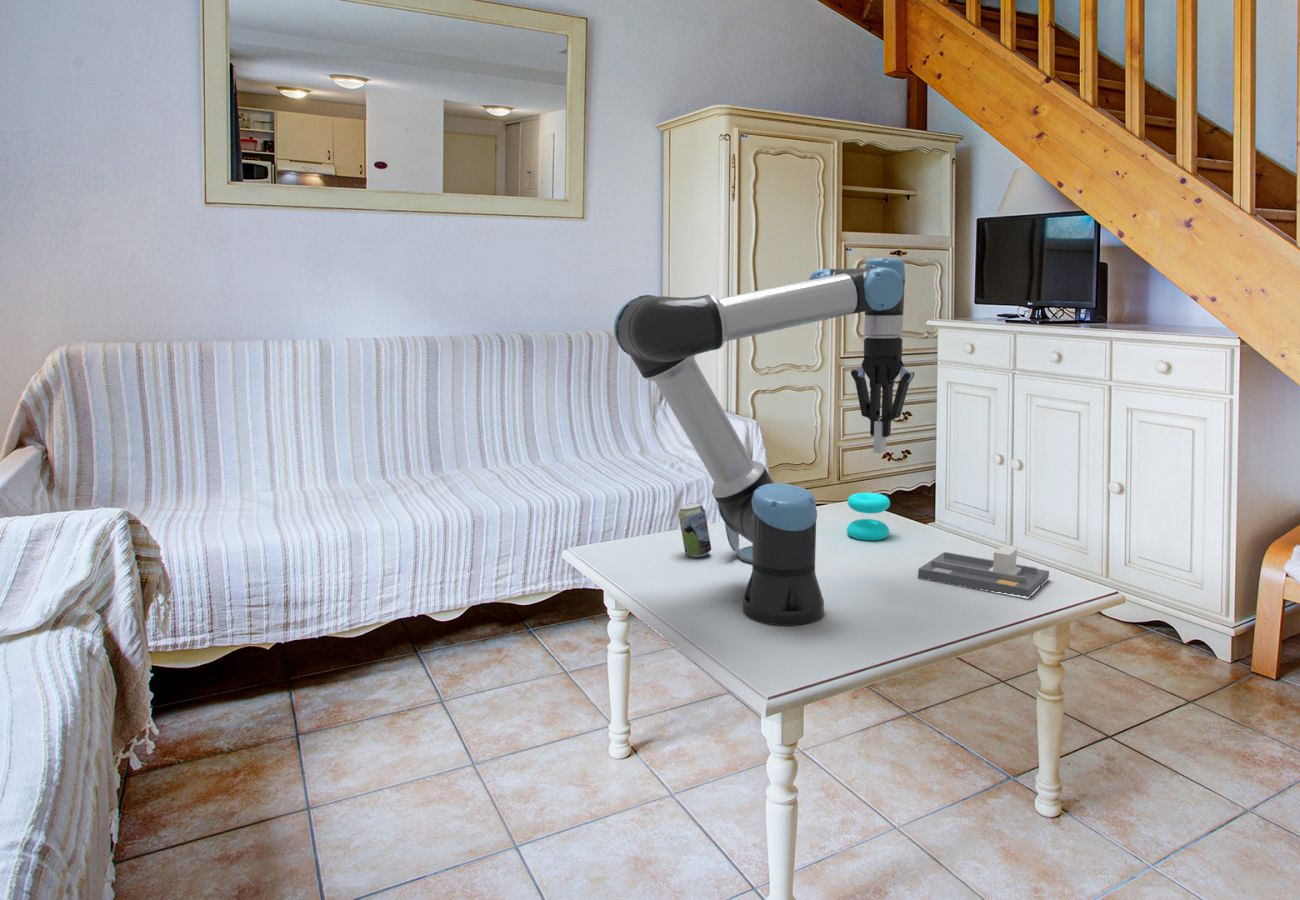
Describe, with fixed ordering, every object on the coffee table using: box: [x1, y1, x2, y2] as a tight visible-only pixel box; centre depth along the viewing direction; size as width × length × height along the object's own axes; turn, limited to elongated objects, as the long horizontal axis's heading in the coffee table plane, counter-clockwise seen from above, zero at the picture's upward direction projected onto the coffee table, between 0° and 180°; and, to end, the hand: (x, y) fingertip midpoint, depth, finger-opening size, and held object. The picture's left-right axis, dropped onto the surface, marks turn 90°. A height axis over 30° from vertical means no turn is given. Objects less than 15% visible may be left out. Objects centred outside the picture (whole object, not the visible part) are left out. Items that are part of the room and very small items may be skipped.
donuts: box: [846, 492, 891, 542], centre depth 217 cm, size 10×10×10 cm
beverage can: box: [678, 502, 712, 558], centre depth 204 cm, size 6×7×12 cm
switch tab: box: [989, 546, 1022, 575], centre depth 182 cm, size 6×5×5 cm
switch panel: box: [917, 551, 1050, 597], centre depth 185 cm, size 14×22×3 cm, turn 51°
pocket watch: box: [724, 523, 753, 564], centre depth 201 cm, size 10×11×15 cm
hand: (879, 451), depth 185 cm, fingers closed
